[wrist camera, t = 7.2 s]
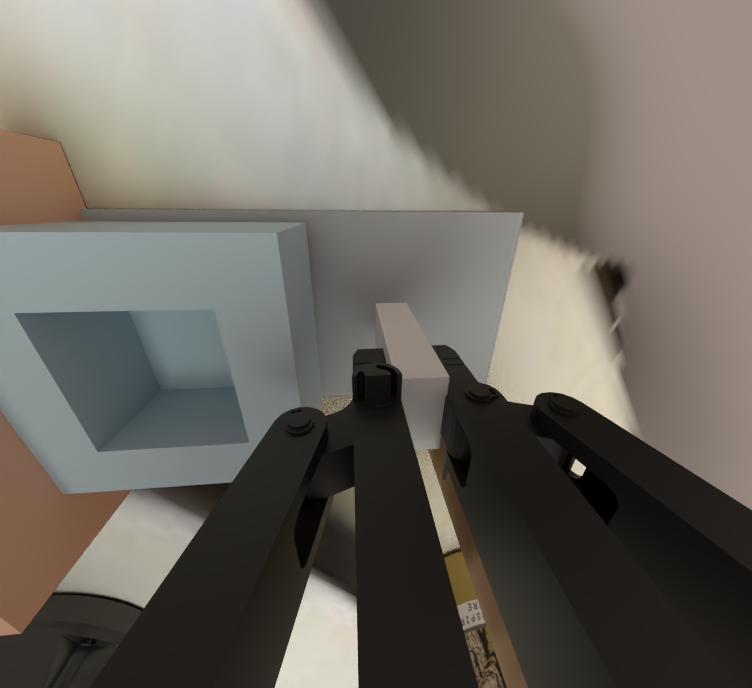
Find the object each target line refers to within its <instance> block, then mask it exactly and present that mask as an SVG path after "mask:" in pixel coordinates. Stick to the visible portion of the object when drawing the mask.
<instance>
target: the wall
mask: <svg viewBox="0 0 752 688" xmlns="http://www.w3.org/2000/svg"><path fill="white" fill-rule="evenodd" d="M80 209H87V208H86V206H85V203H84V201H83V198H82V196H81V193H80V191H79V189H78V186H77V184H76V181H75V179H74V176H73V174H72V171H71V169H70V166H69V164H68V162H67V159H66V157H65V154H64V152H63V149H62V147H61V144H60V143H59V142H55V141H50V140H46V139H42V138H37V137H33V136H28V135H24V134H19V133H15V132H10V131H6V130H2V129H0V225H12V224H32V223H52V222H71V221H84V219H83V217H82V214H81V212H80ZM131 490H132V489H131ZM131 490H117V491H103V492H89V493H75V494H62V492H61V491H60V490H59V488H58V487H57V486H56V484H55V483H54V482H53V480H52V479H51V478H50V476H49V475H48V474H47V472H46V471H45V470H44V468H43V467H42V466H41V464H40V463H39V462H38V460H37V459H36V458H35V456H34V455H33V454H32V452H31V451H30V450H29V448H28V447H27V446H26V444H25V443H24V442H23V440H22V439H21V438H20V436H19V435H18V434H17V432H16V431H15V430H14V428H13V427H12V426H11V424H10V423H9V422H8V420H7V419H6V418H5V416H4V415H3V414H2V412H1V411H0V636H3V635H12V634H21V633H22V632H23V631H24V630H25V628H26V627H27V626H28V624H29V623H30V622H31V620H32V619H33V618H34V616H35V615H36V614H37V613H38V611H39V610H40V609H41V607H42V606H43V605H44V603H45V602H46V601H47V600H48V598H49V597H50V596H51V594H52V593H53V592H54V590H55V589H56V588H57V586H58V585H59V584H60V583H61V581H62V580H63V579H64V577H65V576H66V575H67V573H68V572H69V571H70V570H71V568H72V567H73V566H74V564H75V563H76V562H77V560H78V559H79V558H80V556H81V555H82V554H83V553H84V551H85V550H86V549H87V547H88V546H89V545H90V543H91V542H92V541H93V540H94V538H95V537H96V536H97V534H98V533H99V532H100V530H101V529H102V528H103V526H104V525H105V524H106V523H107V521H108V520H109V519H110V517H111V516H112V515H113V513H114V512H115V511H116V510H117V508H118V507H119V506H120V504H121V503H122V502H123V500H124V499H125V498H126V496H127V495H128V494H129V493H130V491H131Z"/></svg>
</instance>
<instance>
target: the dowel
mask: <svg viewBox="0 0 752 688" xmlns="http://www.w3.org/2000/svg"><path fill="white" fill-rule="evenodd" d="M445 449H446V446H445V443H444V441H443V438H442V436H441V442H440V449H428V451H429V454H430V457H431V460H432V463H433V466H434V469H435V472H436V475H437V478H438V481H439V484H440V487H441V490H442V493H443V496H444V499H445V502H446V505H447V508H448V511H449V514H450V517H451V520H452V523H453V526H454V529H455V532H456V535H457V538H458V541H459V545H460V548H461V551H462V554H463V557H464V560H465V563H466V566H467V569H468V572H469V575H470V578H471V581H472V584H473V587H474V590H475V593H476V596H477V599H478V602H479V605H480V608H481V611H482V614H483V617H484V620H485V623H486V626H487V629H488V632H489V635H490V638H491V641H492V644H493V647H494V650H495V653H496V656H497V659H498V663H499V666H500V669H501V672H502V675H503V678H504V681H505V684H506V687H507V688H528V686H527V684H526V681H525V678H524V676H523V673H522V670H521V667H520V665H519V662H518V659H517V657H516V654H515V651H514V648H513V646H512V643H511V640H510V638H509V635H508V632H507V629H506V627H505V624H504V621H503V619H502V616H501V613H500V610H499V608H498V605H497V602H496V599H495V597H494V594H493V591H492V589H491V586H490V583H489V580H488V578H487V575H486V572H485V570H484V567H483V564H482V561H481V559H480V556H479V553H478V551H477V548H476V545H475V542H474V540H473V537H472V534H471V532H470V529H469V526H468V523H467V521H466V518H465V515H464V513H463V510H462V507H461V504H460V502H459V499H458V496H457V494H456V491H455V488H454V485H453V483H452V480H451V477H450V475H449V472H448V471H447V477H446V480H442V469H443V462H444V456H445Z"/></svg>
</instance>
